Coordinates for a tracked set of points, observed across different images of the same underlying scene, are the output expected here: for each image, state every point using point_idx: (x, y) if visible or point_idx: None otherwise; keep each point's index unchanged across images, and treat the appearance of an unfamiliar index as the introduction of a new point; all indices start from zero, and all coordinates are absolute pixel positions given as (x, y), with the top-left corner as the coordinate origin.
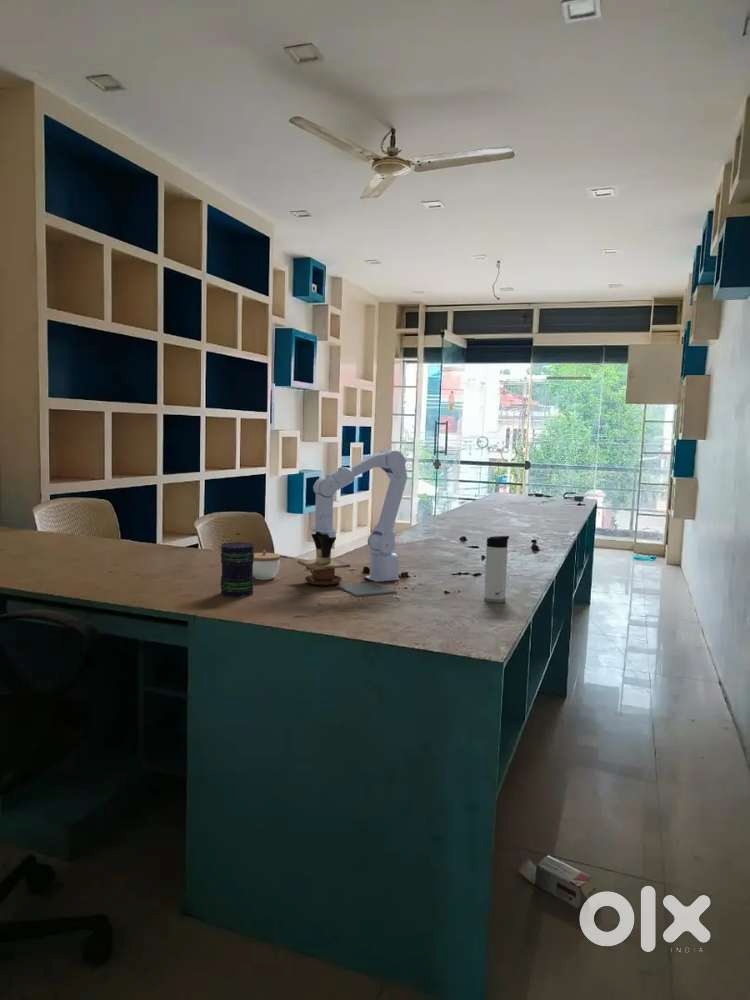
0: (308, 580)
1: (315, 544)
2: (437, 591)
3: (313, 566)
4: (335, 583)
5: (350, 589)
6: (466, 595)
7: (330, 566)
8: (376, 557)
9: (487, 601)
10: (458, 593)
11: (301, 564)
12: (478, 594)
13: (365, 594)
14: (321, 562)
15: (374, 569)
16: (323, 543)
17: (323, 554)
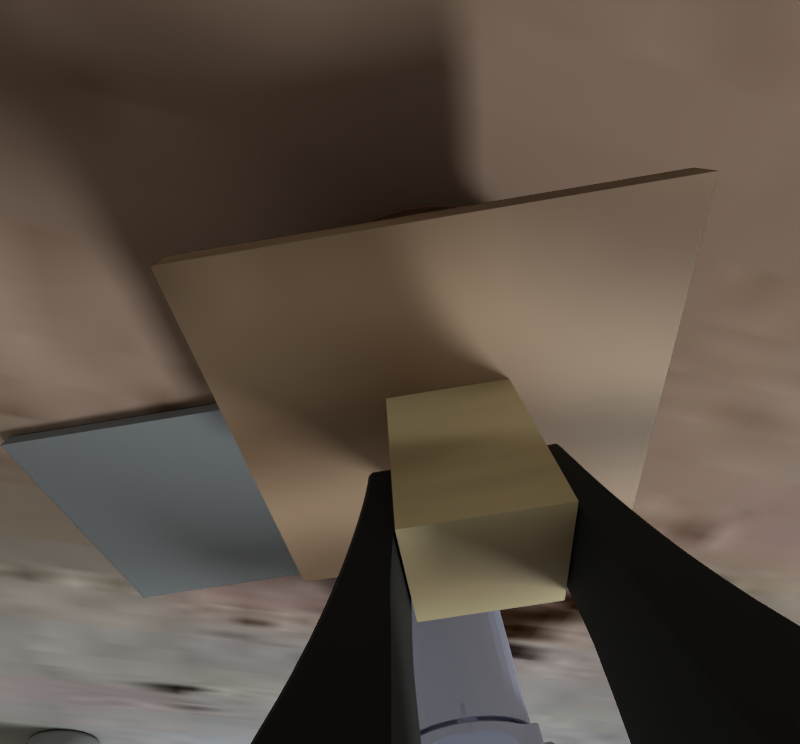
0: (376, 217)
1: (666, 557)
2: (189, 675)
3: (233, 292)
4: None
5: (159, 443)
6: (131, 712)
7: (243, 456)
8: (421, 710)
9: (44, 731)
10: (161, 704)
11: (551, 192)
12: (151, 729)
13: (42, 485)
14: (388, 416)
15: (422, 622)
16: (281, 711)
17: (362, 506)
